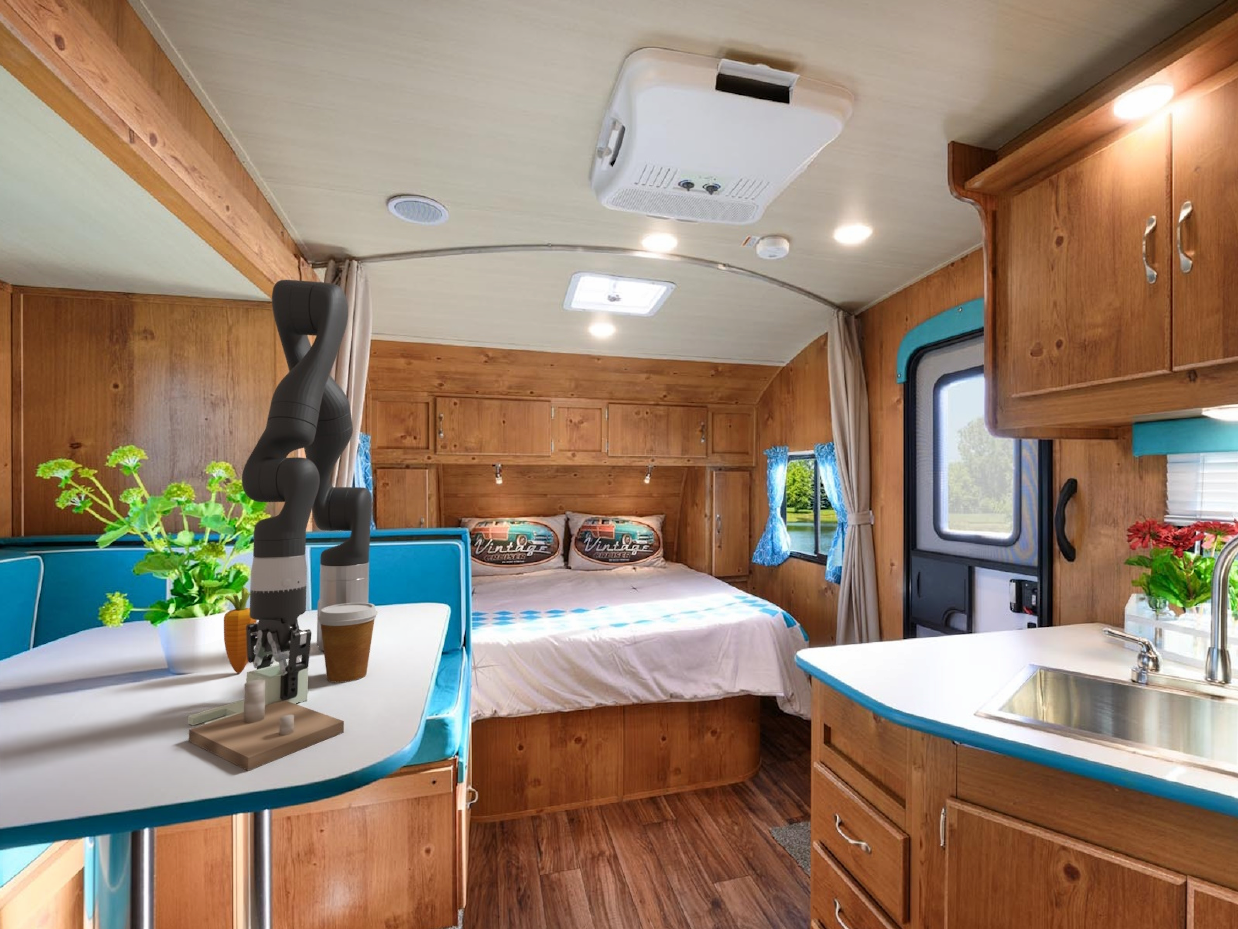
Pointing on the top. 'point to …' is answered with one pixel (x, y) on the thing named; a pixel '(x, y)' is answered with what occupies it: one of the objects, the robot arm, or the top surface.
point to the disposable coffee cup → (347, 639)
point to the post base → (264, 730)
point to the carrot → (237, 631)
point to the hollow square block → (271, 694)
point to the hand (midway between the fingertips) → (276, 694)
